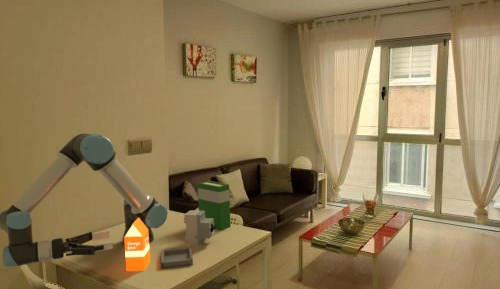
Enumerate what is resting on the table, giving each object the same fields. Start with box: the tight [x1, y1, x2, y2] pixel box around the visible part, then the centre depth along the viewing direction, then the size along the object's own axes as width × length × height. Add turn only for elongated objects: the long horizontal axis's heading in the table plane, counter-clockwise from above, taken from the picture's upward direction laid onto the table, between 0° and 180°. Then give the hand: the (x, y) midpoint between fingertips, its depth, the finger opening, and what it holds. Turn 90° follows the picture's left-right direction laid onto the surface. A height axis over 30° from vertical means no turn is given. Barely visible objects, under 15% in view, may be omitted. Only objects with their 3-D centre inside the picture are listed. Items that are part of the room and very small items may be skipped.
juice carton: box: [124, 218, 151, 272], centre depth 154 cm, size 8×9×20 cm
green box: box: [197, 180, 231, 232], centre depth 204 cm, size 18×7×24 cm, turn 48°
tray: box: [160, 246, 194, 270], centre depth 160 cm, size 14×13×2 cm
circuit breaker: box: [183, 209, 216, 246], centre depth 179 cm, size 8×14×15 cm, turn 78°
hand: (110, 239), depth 149 cm, fingers open, 13 cm apart
